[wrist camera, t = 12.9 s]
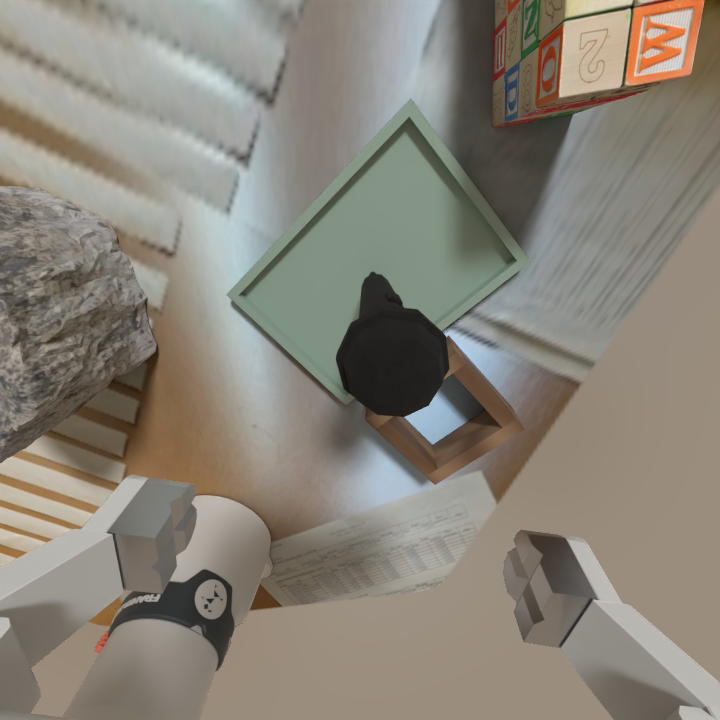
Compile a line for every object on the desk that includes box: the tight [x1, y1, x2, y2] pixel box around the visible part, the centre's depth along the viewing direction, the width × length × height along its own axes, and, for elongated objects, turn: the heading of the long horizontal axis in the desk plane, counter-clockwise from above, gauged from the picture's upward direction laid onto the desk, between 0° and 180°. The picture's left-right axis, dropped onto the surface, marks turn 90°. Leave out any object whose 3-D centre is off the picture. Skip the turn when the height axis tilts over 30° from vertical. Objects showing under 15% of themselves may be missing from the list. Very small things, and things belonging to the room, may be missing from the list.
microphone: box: [336, 272, 450, 417], centre depth 25 cm, size 6×6×20 cm
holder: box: [365, 336, 524, 484], centre depth 39 cm, size 11×11×4 cm
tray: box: [227, 99, 531, 405], centre depth 34 cm, size 22×16×2 cm
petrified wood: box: [0, 186, 157, 463], centre depth 31 cm, size 19×17×15 cm
